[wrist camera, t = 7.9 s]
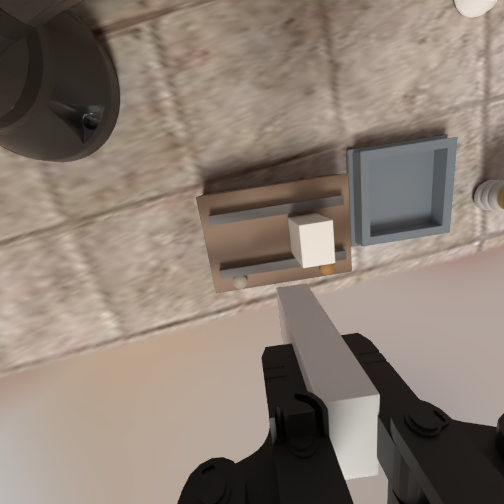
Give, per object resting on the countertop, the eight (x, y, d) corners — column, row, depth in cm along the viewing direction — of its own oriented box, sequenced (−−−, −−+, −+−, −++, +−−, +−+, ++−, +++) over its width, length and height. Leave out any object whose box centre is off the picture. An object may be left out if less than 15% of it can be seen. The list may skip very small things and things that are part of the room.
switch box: (202, 194, 30) (194, 198, 25) (330, 174, 30) (352, 173, 25) (219, 277, 33) (215, 297, 28) (335, 258, 34) (355, 274, 28)
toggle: (287, 217, 26) (299, 225, 22) (315, 213, 26) (332, 220, 22) (291, 252, 27) (303, 268, 23) (318, 248, 27) (335, 263, 23)
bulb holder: (346, 150, 30) (355, 147, 27) (443, 135, 30) (462, 131, 27) (349, 245, 33) (358, 250, 31) (437, 231, 33) (453, 235, 31)
